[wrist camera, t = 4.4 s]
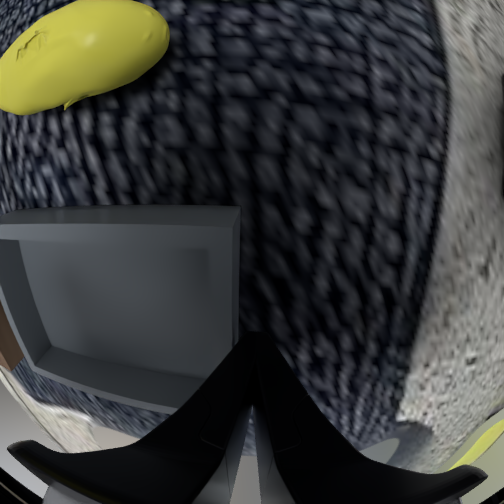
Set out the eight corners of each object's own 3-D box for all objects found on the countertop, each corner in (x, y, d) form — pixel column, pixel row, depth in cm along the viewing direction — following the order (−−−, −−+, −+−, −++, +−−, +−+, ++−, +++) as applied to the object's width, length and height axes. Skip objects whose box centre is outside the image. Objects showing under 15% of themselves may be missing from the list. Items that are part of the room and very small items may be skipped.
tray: (241, 206, 9) (232, 227, 7) (238, 381, 12) (233, 422, 10) (15, 209, 9) (-20, 225, 7) (53, 345, 12) (32, 370, 10)
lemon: (171, 111, 8) (113, 92, 4) (22, 121, 8) (-40, 127, 4) (194, 9, 6) (159, -47, 3) (39, 41, 6) (-16, 28, 3)
